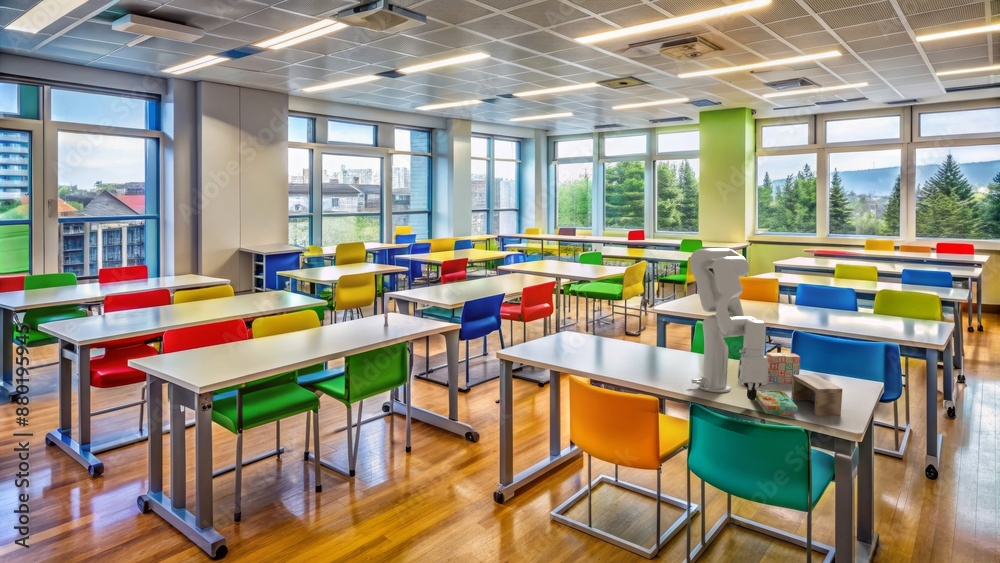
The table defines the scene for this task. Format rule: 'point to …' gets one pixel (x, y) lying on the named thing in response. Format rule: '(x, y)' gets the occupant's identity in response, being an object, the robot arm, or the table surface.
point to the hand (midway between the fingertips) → (751, 399)
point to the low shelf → (817, 393)
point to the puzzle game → (776, 402)
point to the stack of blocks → (782, 367)
